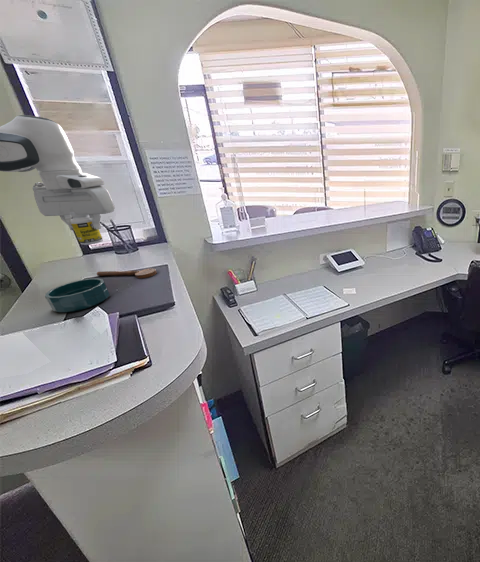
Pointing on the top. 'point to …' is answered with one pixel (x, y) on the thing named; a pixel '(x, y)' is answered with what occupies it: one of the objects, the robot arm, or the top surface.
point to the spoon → (129, 273)
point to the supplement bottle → (85, 229)
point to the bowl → (77, 295)
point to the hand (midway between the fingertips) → (86, 229)
